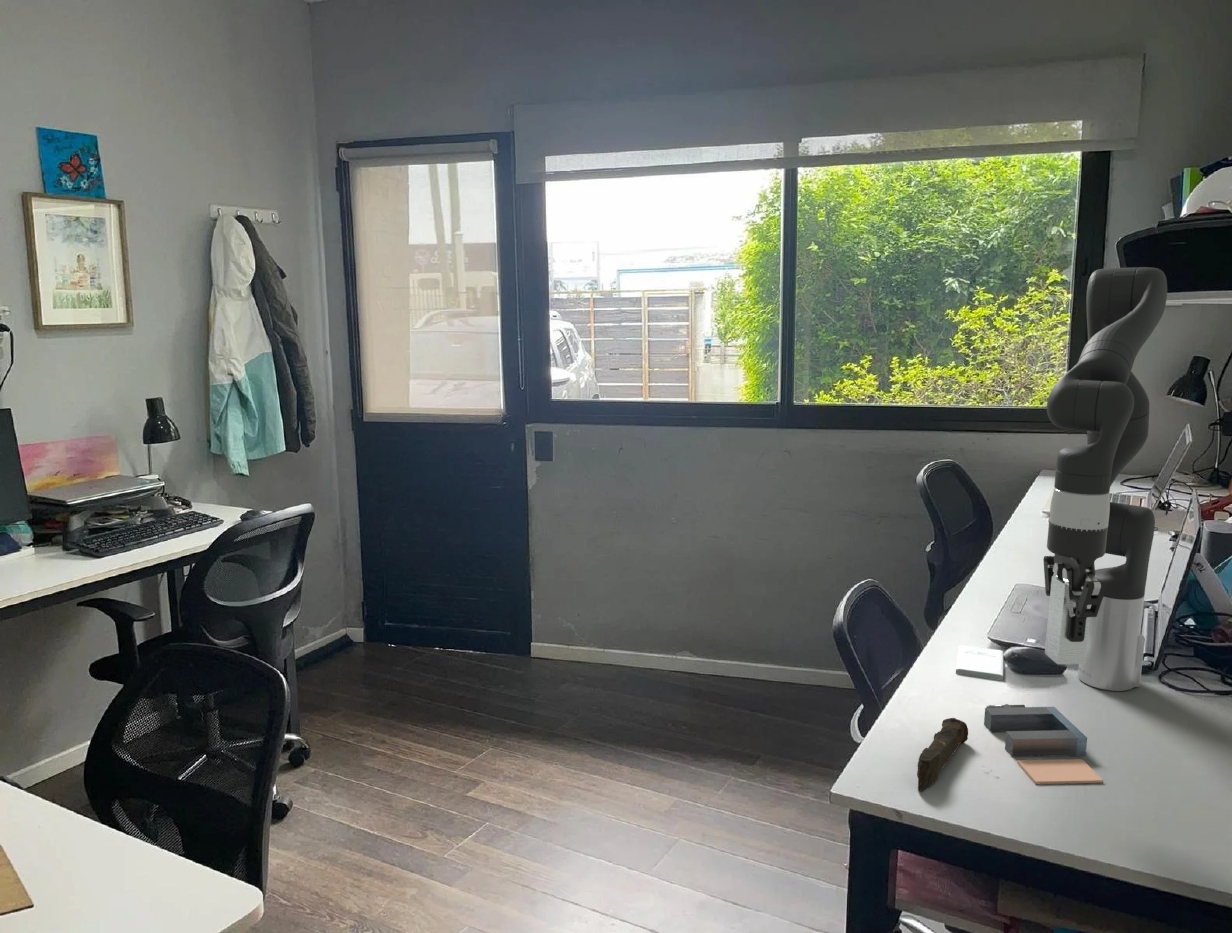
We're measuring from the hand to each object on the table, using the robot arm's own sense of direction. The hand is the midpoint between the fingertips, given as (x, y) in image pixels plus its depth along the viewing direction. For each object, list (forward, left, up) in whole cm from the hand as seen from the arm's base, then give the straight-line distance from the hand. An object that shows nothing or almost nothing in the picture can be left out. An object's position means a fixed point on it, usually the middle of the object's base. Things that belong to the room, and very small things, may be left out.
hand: (1067, 634), depth 134 cm
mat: (0, +1, -22) cm, 22 cm away
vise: (-1, -11, -22) cm, 24 cm away
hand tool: (+16, -2, -22) cm, 28 cm away
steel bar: (0, 0, -4) cm, 4 cm away
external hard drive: (-5, -39, -22) cm, 45 cm away
